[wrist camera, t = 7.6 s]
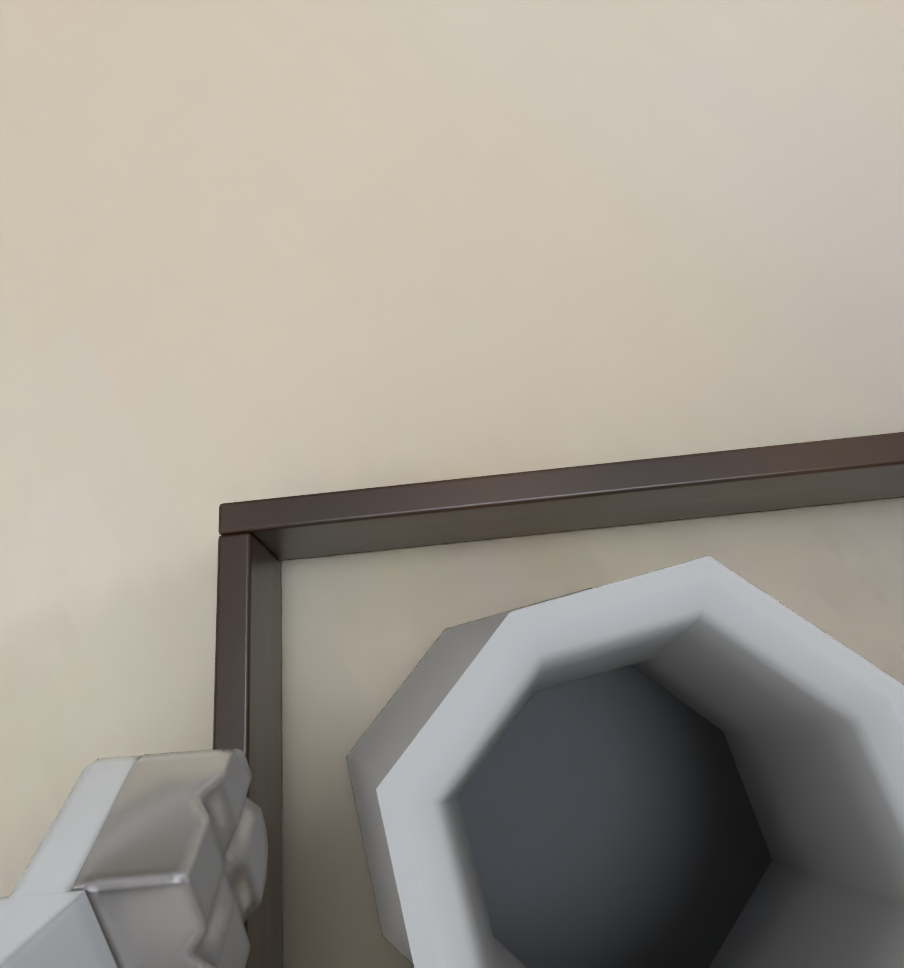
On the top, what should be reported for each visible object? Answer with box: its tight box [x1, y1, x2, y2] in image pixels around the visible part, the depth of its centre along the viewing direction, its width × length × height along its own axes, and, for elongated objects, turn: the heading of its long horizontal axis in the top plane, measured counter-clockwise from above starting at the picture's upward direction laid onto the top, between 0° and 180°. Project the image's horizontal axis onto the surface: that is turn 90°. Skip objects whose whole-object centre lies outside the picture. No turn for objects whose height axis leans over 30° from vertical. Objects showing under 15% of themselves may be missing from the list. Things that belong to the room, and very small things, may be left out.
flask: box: [346, 556, 904, 968], centre depth 9 cm, size 7×7×10 cm
